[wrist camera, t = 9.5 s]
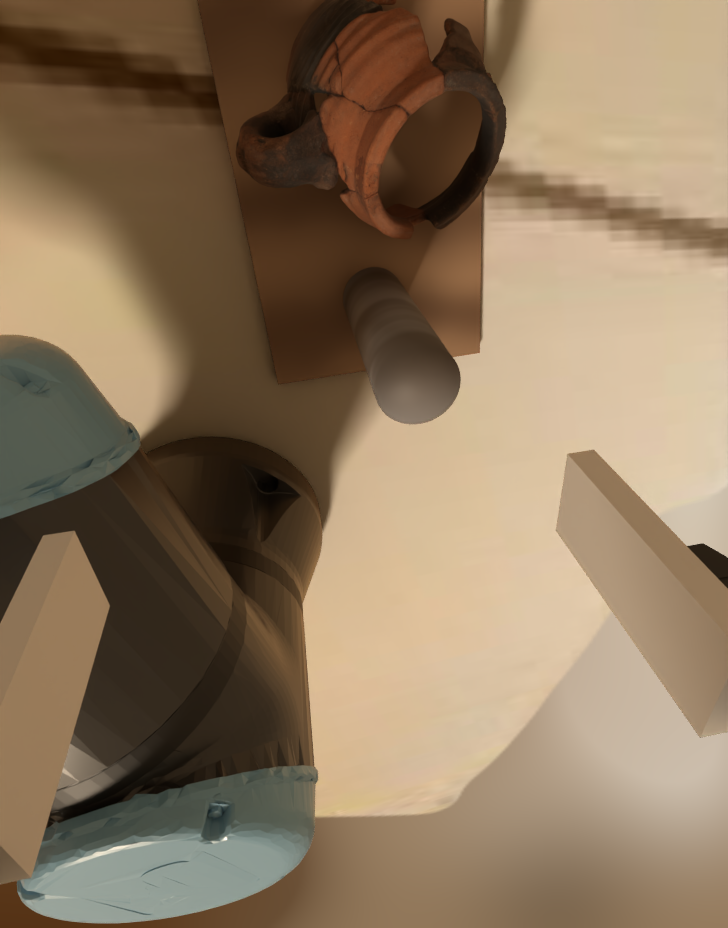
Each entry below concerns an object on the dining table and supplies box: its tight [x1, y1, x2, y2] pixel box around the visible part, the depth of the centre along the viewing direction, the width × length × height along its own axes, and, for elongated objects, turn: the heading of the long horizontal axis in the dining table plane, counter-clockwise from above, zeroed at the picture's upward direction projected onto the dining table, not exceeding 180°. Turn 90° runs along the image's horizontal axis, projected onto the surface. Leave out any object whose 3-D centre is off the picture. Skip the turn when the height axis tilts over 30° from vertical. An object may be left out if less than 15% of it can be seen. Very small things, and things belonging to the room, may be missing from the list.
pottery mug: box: [236, 0, 506, 239], centre depth 26 cm, size 12×10×8 cm
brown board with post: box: [198, 0, 484, 424], centre depth 26 cm, size 19×13×13 cm
